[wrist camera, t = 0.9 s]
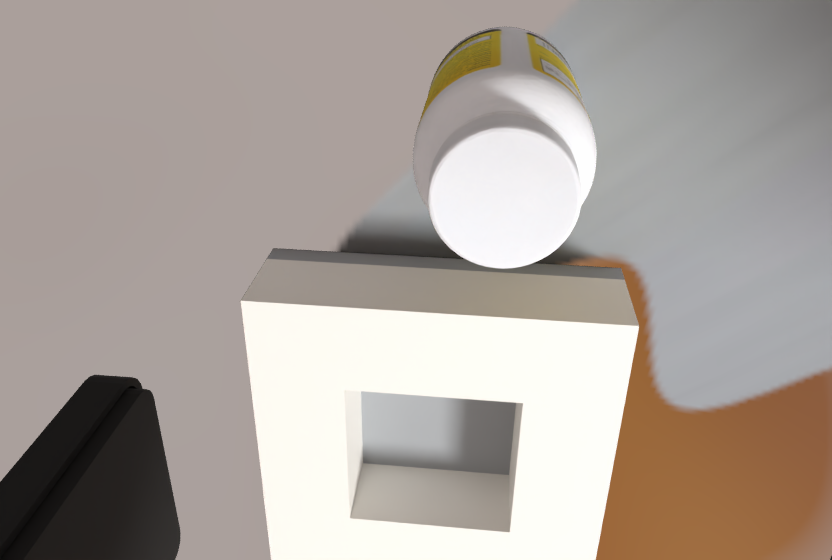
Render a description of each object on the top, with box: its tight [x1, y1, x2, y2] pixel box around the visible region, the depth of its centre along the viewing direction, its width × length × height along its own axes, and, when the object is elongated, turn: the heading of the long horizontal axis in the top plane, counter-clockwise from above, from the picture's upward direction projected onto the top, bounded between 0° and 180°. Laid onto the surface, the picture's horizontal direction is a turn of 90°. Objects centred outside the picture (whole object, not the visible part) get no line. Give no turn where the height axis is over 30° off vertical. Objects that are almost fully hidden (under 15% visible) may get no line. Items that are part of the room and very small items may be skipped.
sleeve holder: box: [241, 248, 639, 560], centre depth 32 cm, size 15×15×4 cm
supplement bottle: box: [413, 27, 597, 269], centre depth 23 cm, size 5×5×10 cm
